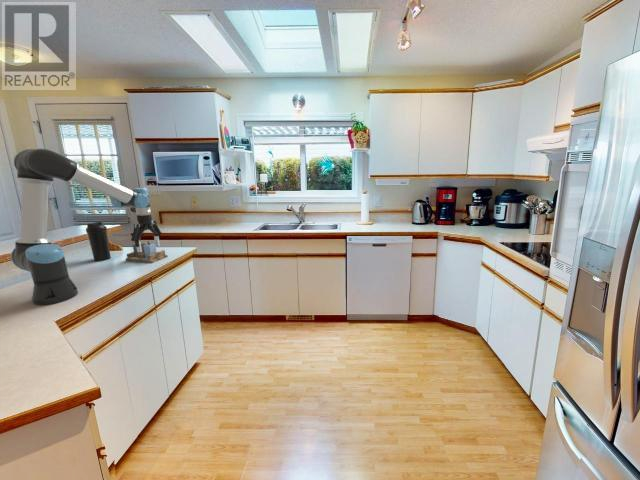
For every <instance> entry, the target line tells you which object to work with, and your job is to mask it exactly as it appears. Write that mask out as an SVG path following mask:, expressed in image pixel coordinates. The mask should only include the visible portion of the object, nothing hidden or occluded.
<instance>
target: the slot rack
mask: <svg viewBox="0 0 640 480" xmlns="http://www.w3.org/2000/svg"><path fill="white" fill-rule="evenodd" d="M156 252H157V253H154V254H151V255H149V256H148V258H145V253H141V254H138V255H137V257H135V255H134V251H132V252H129V253H126V258H125V261H127V262H139V263H149V264H153V263H156V262H159V261H162V260H163V259H165V258H168V257H169V255H168V254H166V251H165V250H164V249H162V250H160V251H156Z"/></svg>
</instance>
